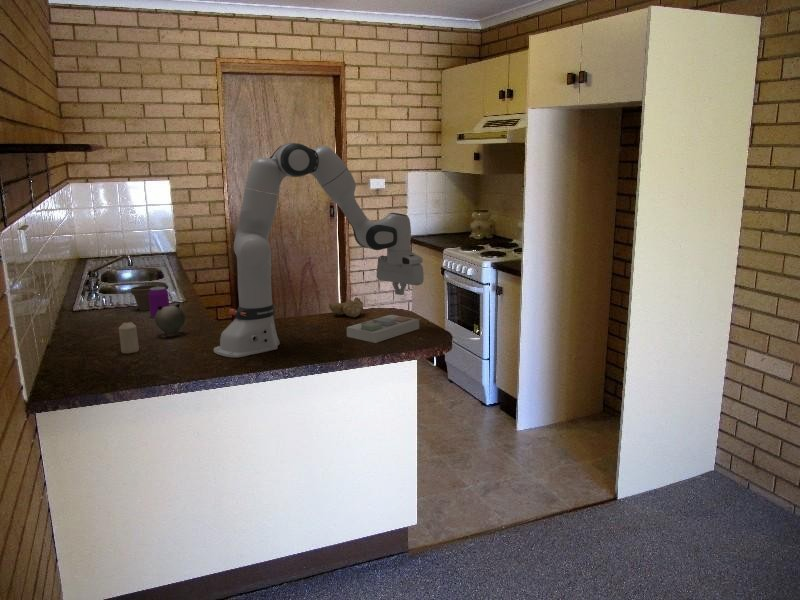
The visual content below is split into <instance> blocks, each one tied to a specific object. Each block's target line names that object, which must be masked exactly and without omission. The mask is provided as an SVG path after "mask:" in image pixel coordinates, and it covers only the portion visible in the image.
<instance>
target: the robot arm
mask: <svg viewBox="0 0 800 600" xmlns="http://www.w3.org/2000/svg"><path fill="white" fill-rule="evenodd" d="M249 168H250V169H249V171H248V174H247V178H246V182H245V185H244V186H245V187H244V192H243V197H242V203H241V204H242V205H241V209H240V213H239V219H238V223H237V227H236V232H235V236H234V240H233V241H234V242H233V252H234V253H235V255H236V266H237V267H236V268H237V293H238V307H237V309H236V308H230V309H229V315H233V316H235V318H234V319H233V320H232V322H230V323H229V325H228V326H227V327H226V328H225V329H224V330H223V331H221V335H220V339H219V345H218V346H214V348H213V353H215V354H217V355H218V356H219V355H220V356H223V357H227V358H242V357H247V356H250V355H256V354H260V353H266V352H270V351H274V350H278V346H279V345H281V344H280V340H279V337H278V333H277V330H276V324H275V318H274V317H275V304H274V303H273V294H272V249H271V245H270V242H269V237H270V233H271V230H272V226H273V223H274V220H275V217H276V211H277V206H278V200H279V194H280V188H281V187H280V186H281V184H282V181H283V180H284V179H285V178H286V177H290V178H301V177H303V176H306V175H309V174H310V175H312V176H313V177H314V178H315V180H316V181H317V182H318V183H319V185H320V186H321V188H322V190H323V191H324V192H325V193H326V194H327V196H328V197H330V199H331V200H332V201H333V202H334V203H335V204H336V206H338V208H339V209H340V210H341V212H342V213H343V215H344V216H345V218H346V220H347V221H348V223H349V224H350V226H351V228H352V231H353V237H354V240H355V241H356V243H357V244H358V245H359V247H362V248H365V249H370V250H374V251H382V250H385V249H386V255H380V256H379V257H378V258H377V266H376V279H377V280H378V281H382V282H390V283H392V287H393V289H394V295H397V296H404V295H405V290H406V288H407V285H409V286H421V285H422V284H423V283H424V279H425V277H424V276H425V275H424V267H423V265H422V263H423V261H424V260H423V257H421V256H420V255H417V254H416V253H414V252H412V247H411V239H412V227H411V226H412V225H411V220H410V218H409V216H408V215H407V214H404V213H398V212H389V213H388V214H387V215H386V216H384V217H383V218H381V219H378V220H376V221H373V220H372V219H371V220H370V219H369V218H368V217H367V216H366V215H365V212H364V211H363V210H362V208H361V206H360V205H359V204H358V202H357V200H356V197H355V192H356V188H357V183H356V180H355V178H354V177H353V175H352V173H351V171H350V170H349V168H348V167H347V165H346V164H345V163H344V161H343V160H342V159H341V158H340V156H339V155H338V154H337V153H336V151H334V150H333V149H332V148H331V147H329V146H327V145H320V146H317V147H315V148H314V149H313V148H310V147H308V146H306V145H304V144H302V143H297V142H289V143H285V144H282V145H280V146H279V147H278V148H277V149H276V150H275V151H274V152H273V154H272V155H271V156H269V157H259V158H256V159H255V160H253V162H252V163H251V165H250V167H249ZM399 286H400V288H399Z"/></svg>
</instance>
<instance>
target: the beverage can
mask: <svg viewBox="0 0 800 600" xmlns="http://www.w3.org/2000/svg"><path fill="white" fill-rule="evenodd" d="M148 295H149V304H150V310H149V313H150V316H152V318H155V316H156V313H157V311H158V310H159V309H158V306H161V307H165V306H170V300H169V299H170V298H169V292H168V290H167V287H166V286H158V287H152V288H150V290H149V294H148Z"/></svg>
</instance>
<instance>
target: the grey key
mask: <svg viewBox="0 0 800 600" xmlns="http://www.w3.org/2000/svg"><path fill="white" fill-rule="evenodd" d="M377 323H379V324H381V326H385V327H389V326H392V325H395V324H396V319H391V318H383V319H379V320H377Z"/></svg>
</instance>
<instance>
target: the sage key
mask: <svg viewBox="0 0 800 600" xmlns="http://www.w3.org/2000/svg"><path fill="white" fill-rule="evenodd" d="M361 328H362V330H366V331H371V332H373V331H376V330H379V329H382V328H381V324H379V323H374V322H369V323H366V324H362V325H361Z"/></svg>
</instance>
